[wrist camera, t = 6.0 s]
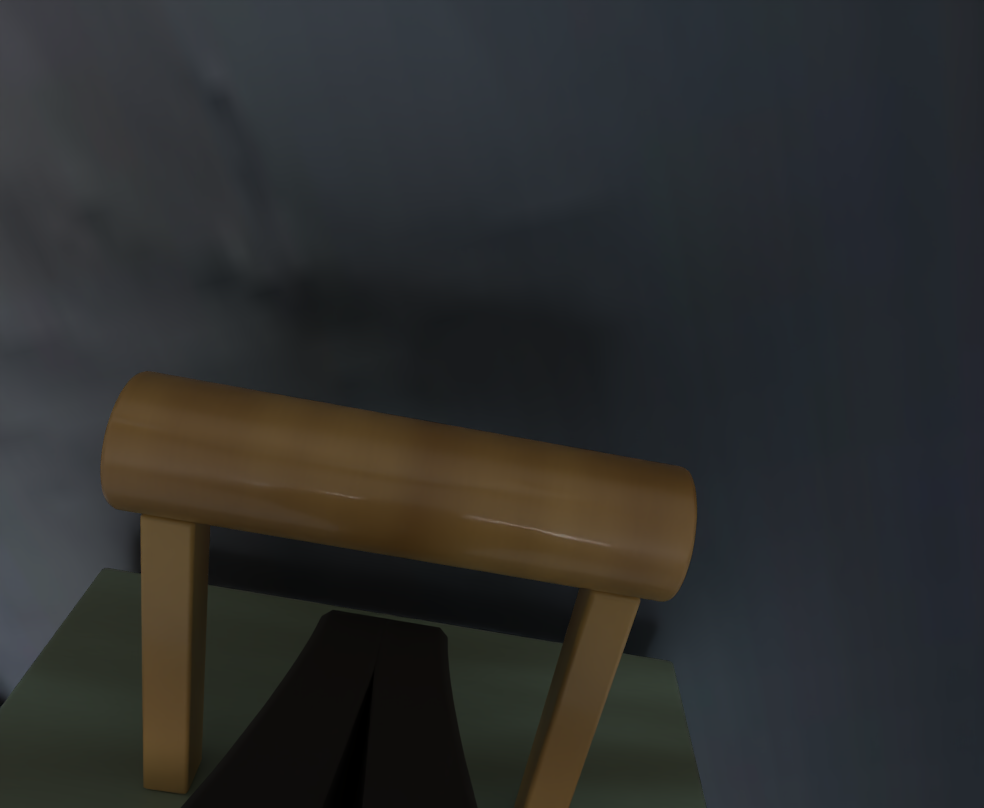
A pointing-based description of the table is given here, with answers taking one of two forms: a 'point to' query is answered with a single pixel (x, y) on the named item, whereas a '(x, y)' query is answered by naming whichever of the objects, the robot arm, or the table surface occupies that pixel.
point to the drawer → (290, 622)
